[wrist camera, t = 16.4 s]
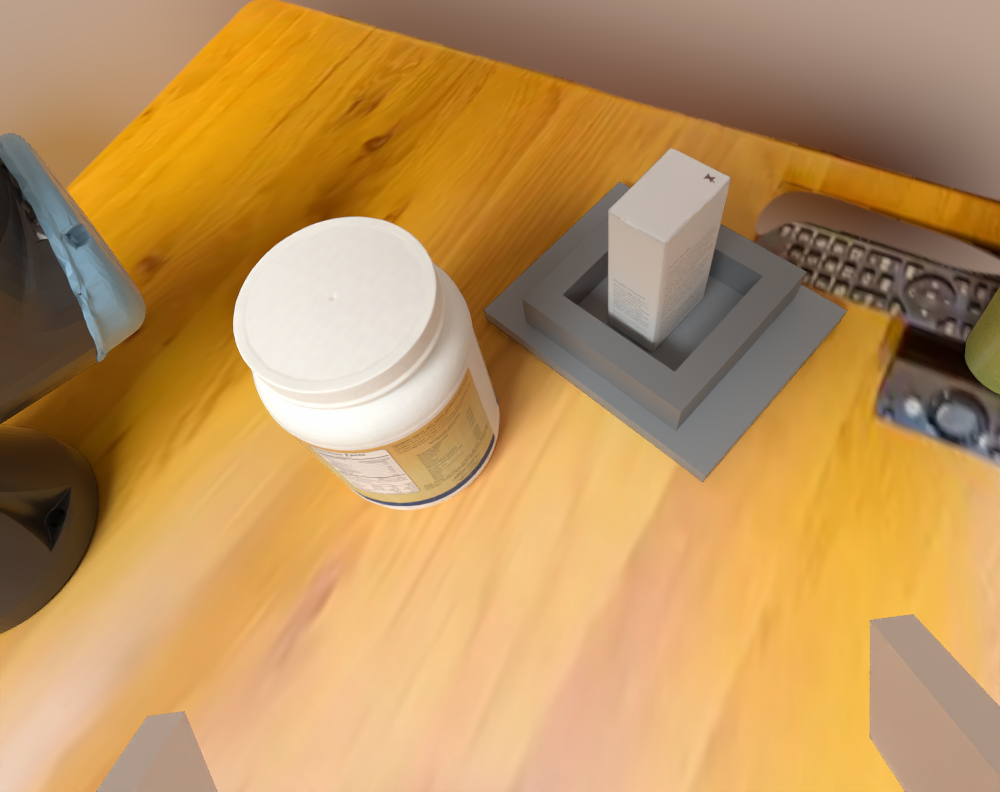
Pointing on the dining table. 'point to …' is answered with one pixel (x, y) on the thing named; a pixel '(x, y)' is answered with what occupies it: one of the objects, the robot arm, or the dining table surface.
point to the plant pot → (986, 346)
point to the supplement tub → (370, 360)
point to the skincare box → (663, 246)
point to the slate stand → (670, 339)
